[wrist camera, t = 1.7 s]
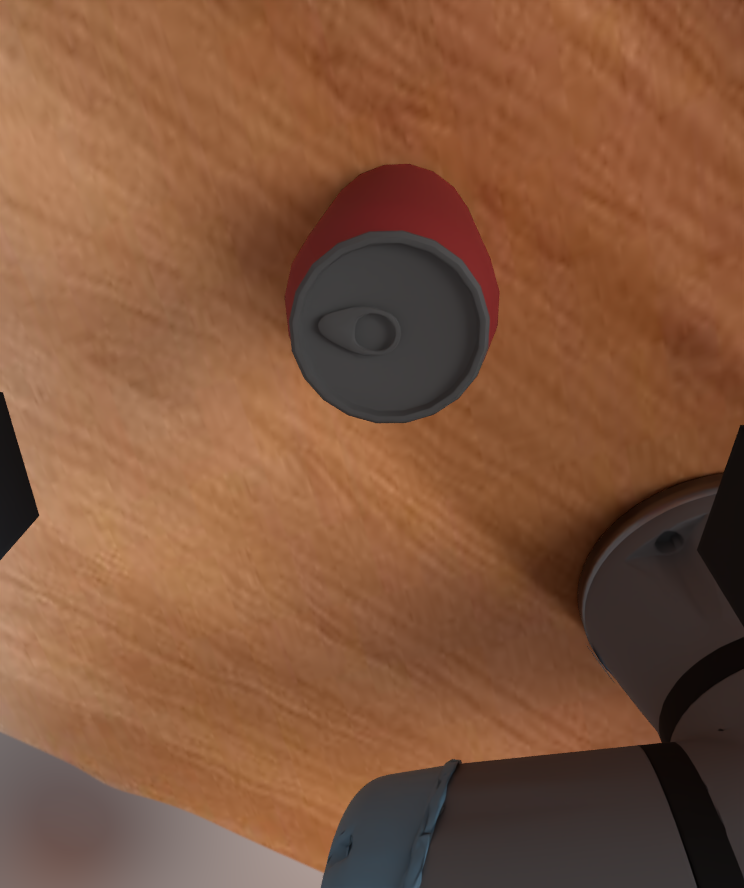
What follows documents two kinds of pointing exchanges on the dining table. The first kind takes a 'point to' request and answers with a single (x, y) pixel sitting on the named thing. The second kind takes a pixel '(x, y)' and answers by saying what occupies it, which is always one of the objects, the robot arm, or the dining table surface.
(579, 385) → the dining table surface
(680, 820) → the robot arm
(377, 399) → the beer can
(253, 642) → the dining table surface
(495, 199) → the dining table surface
